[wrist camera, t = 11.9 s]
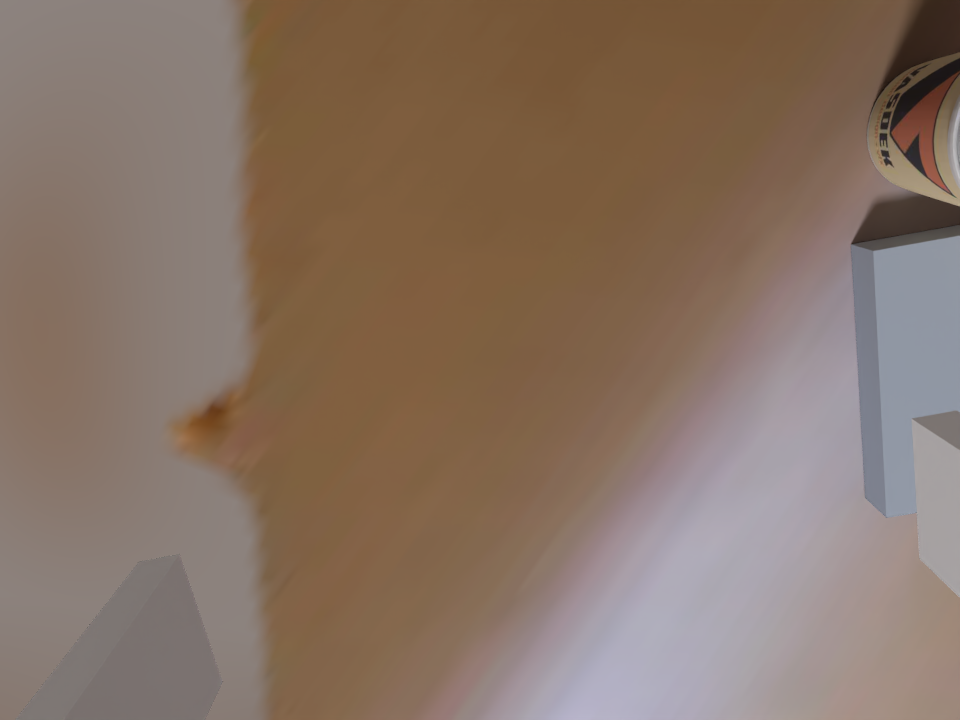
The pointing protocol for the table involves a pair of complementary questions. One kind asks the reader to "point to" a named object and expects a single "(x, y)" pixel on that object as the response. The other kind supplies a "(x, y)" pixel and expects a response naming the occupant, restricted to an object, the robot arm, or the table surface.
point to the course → (904, 352)
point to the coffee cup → (920, 130)
